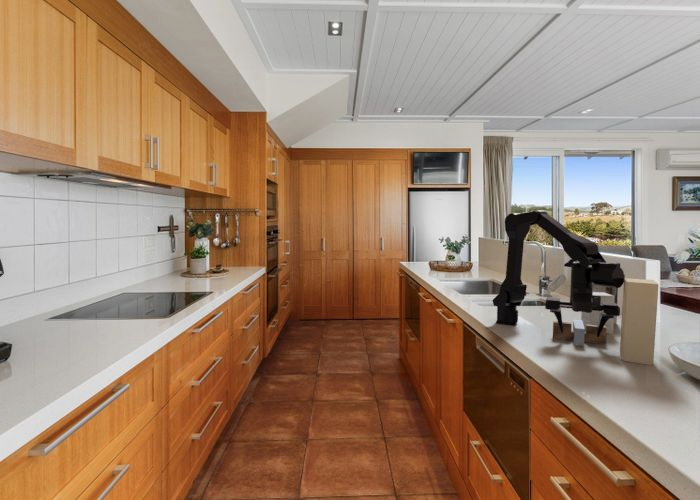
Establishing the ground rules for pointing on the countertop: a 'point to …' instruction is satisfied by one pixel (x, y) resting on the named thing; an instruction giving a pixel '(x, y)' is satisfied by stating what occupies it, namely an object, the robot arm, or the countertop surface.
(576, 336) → the pale blue pillar
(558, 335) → the walnut block
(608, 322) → the supplement box
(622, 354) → the beige tall block
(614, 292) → the coffee box
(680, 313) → the countertop surface
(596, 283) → the robot arm
